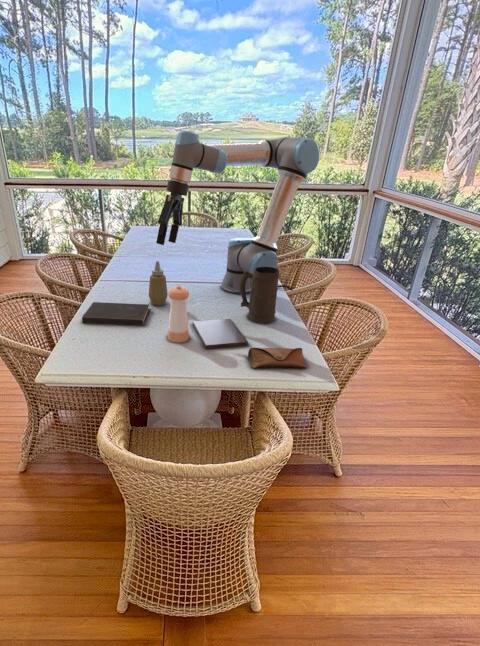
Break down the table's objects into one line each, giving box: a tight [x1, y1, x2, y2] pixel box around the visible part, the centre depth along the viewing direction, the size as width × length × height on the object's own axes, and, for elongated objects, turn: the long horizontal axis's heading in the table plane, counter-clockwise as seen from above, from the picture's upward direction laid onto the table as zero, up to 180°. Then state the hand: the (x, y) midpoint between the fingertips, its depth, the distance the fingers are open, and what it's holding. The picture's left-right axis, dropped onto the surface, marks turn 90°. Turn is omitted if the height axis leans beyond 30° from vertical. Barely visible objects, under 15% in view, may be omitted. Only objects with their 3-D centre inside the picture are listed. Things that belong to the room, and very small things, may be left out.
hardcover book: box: [81, 301, 150, 326], centre depth 155 cm, size 16×23×2 cm
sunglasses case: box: [247, 347, 308, 369], centre depth 126 cm, size 18×7×7 cm, turn 94°
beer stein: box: [240, 267, 281, 324], centre depth 153 cm, size 15×11×20 cm
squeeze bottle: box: [148, 260, 169, 306], centre depth 163 cm, size 8×8×18 cm
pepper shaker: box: [167, 285, 190, 343], centre depth 135 cm, size 7×7×19 cm
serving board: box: [192, 318, 249, 350], centre depth 143 cm, size 15×20×2 cm
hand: (166, 243), depth 146 cm, fingers open, 13 cm apart
